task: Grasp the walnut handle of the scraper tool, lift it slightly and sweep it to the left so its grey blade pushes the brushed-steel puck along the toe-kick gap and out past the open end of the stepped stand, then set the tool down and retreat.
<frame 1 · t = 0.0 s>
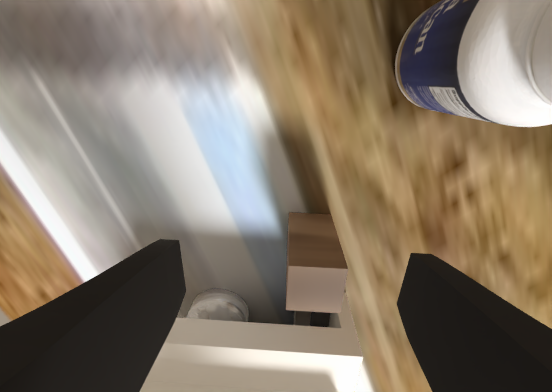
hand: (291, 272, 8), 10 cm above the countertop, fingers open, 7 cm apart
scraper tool: (308, 231, 19), on the countertop
steel puck: (221, 309, 23), on the countertop
stepped stand: (248, 321, 23), on the countertop
pill bottle: (440, 58, 15), on the countertop
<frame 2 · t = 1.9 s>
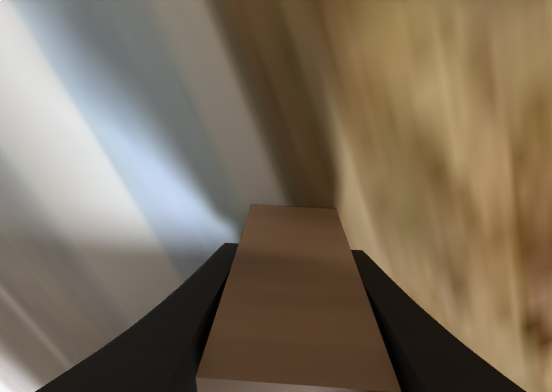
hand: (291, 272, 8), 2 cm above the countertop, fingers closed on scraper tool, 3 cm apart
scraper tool: (291, 242, 10), on the countertop, touching gripper
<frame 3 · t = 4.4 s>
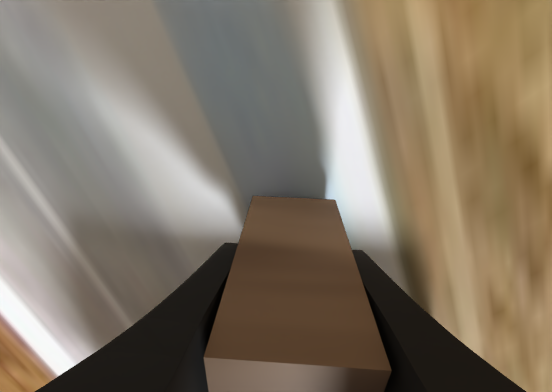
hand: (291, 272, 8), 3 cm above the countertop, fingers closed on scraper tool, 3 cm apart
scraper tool: (291, 232, 10), point 1 cm above the countertop, touching gripper
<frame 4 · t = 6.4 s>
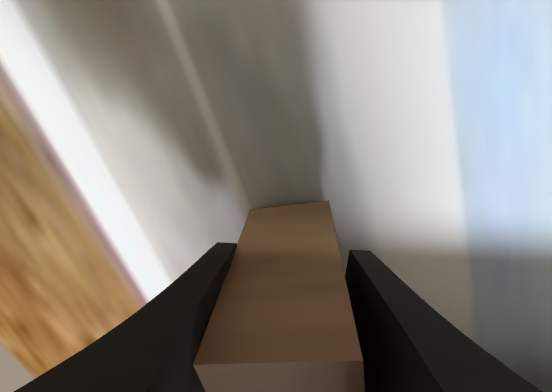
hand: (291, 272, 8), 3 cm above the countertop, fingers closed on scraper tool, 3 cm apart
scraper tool: (294, 238, 11), on the countertop, touching gripper
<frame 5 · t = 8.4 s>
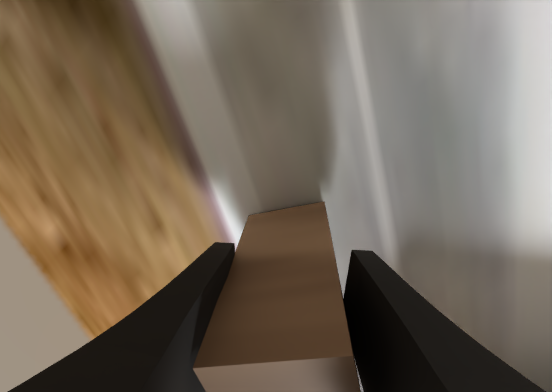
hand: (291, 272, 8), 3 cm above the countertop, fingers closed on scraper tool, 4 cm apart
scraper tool: (294, 240, 11), on the countertop, touching gripper, steel puck
when the fingers open (2 cm above the countertop, at t = 10.5 s): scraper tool stays where it is, on the countertop.
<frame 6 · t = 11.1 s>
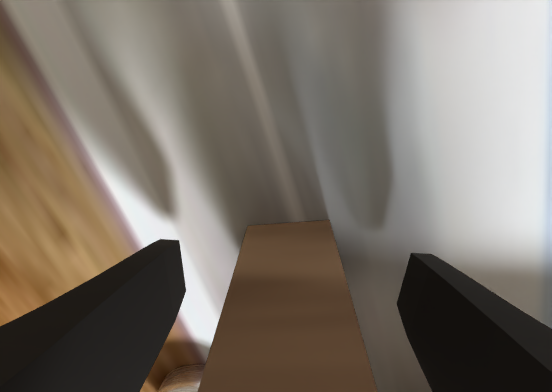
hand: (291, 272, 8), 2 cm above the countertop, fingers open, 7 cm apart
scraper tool: (291, 256, 10), on the countertop
steel puck: (208, 391, 14), on the countertop
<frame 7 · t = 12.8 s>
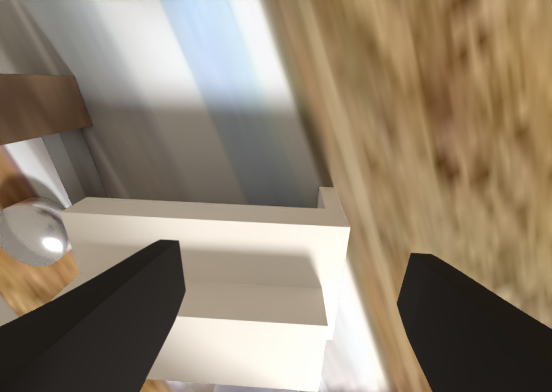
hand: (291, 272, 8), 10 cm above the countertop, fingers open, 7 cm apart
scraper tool: (62, 104, 17), on the countertop
steel puck: (50, 224, 21), on the countertop
stepped stand: (222, 231, 20), on the countertop
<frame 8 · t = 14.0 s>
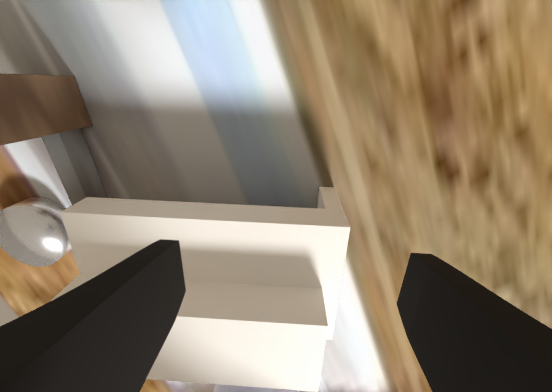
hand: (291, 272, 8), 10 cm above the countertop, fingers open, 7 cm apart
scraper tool: (62, 104, 17), on the countertop
steel puck: (50, 224, 21), on the countertop
stepped stand: (222, 231, 20), on the countertop
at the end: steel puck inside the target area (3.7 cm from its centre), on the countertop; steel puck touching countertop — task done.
